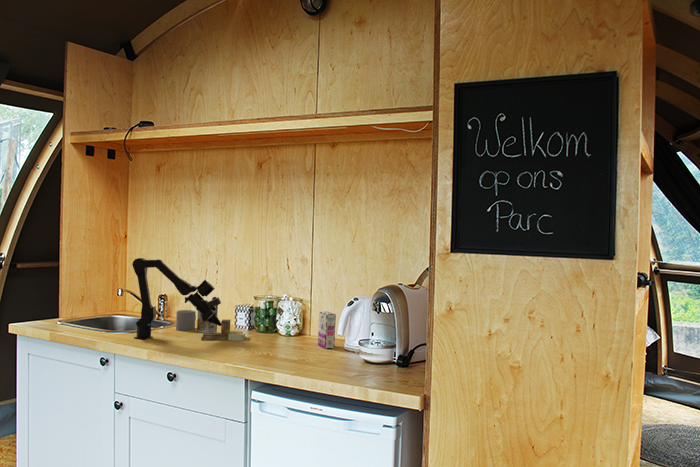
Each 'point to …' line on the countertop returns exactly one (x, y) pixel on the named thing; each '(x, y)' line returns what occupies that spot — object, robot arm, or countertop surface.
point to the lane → (213, 337)
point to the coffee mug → (185, 320)
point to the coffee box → (206, 324)
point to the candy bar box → (326, 330)
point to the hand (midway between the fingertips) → (221, 325)
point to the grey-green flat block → (236, 336)
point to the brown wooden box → (225, 328)
